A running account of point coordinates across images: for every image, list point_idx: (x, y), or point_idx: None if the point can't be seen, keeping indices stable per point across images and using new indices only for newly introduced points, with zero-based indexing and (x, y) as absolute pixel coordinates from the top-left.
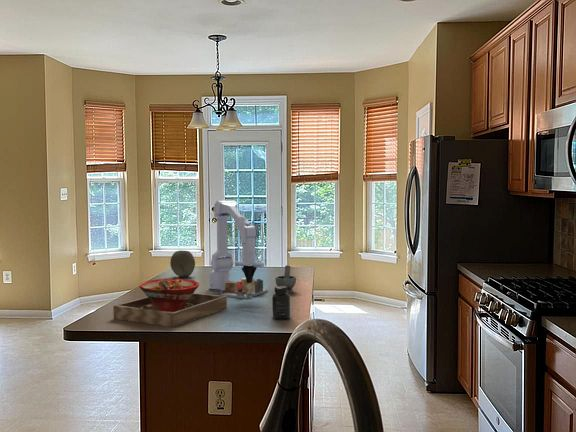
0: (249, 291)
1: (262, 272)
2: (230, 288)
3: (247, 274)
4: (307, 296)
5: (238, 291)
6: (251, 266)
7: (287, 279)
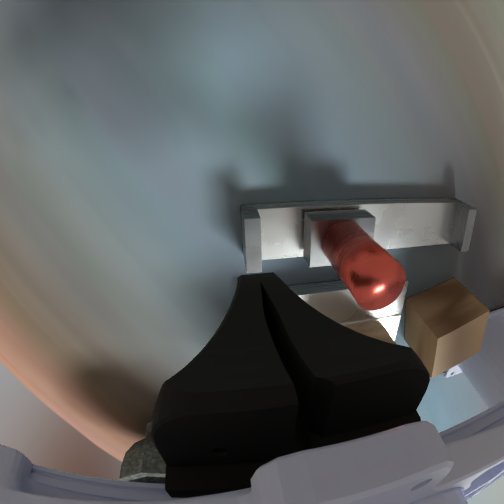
0: None
1: None
2: (444, 304)
3: (282, 339)
4: (31, 390)
5: (347, 221)
6: (213, 486)
7: (128, 473)
